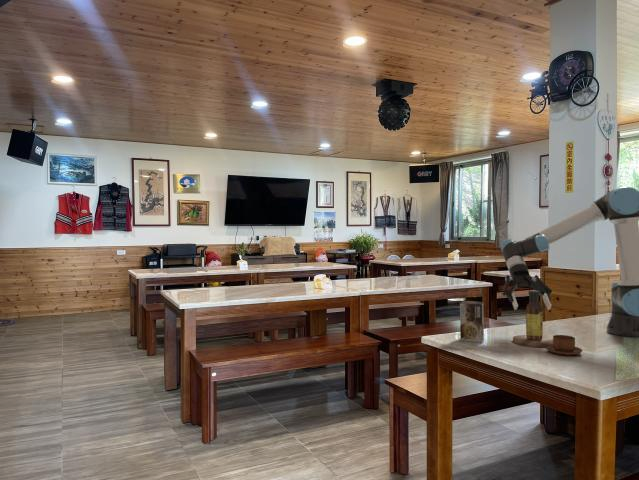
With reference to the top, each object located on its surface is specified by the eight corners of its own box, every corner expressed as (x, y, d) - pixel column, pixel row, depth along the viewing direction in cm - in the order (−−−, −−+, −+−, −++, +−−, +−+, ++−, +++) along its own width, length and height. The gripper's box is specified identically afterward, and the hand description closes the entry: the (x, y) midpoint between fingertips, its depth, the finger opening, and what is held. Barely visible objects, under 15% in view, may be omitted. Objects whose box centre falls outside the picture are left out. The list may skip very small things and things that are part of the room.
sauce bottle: (544, 341, 189) (544, 292, 188) (527, 340, 190) (528, 291, 190) (540, 337, 195) (540, 290, 195) (524, 337, 196) (524, 289, 196)
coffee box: (484, 339, 198) (484, 301, 198) (482, 343, 192) (482, 303, 192) (461, 338, 202) (461, 300, 201) (459, 341, 196) (459, 302, 196)
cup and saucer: (581, 359, 168) (581, 342, 168) (544, 354, 174) (544, 338, 174) (583, 352, 178) (583, 335, 178) (548, 348, 184) (548, 332, 184)
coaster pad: (561, 342, 192) (561, 339, 192) (546, 349, 181) (546, 345, 181) (522, 336, 204) (522, 333, 204) (506, 342, 192) (506, 339, 192)
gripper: (543, 273, 210) (560, 312, 195) (487, 274, 210) (500, 313, 195) (548, 262, 204) (566, 302, 190) (491, 263, 204) (505, 302, 190)
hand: (533, 307), depth 192 cm, fingers open, 13 cm apart
